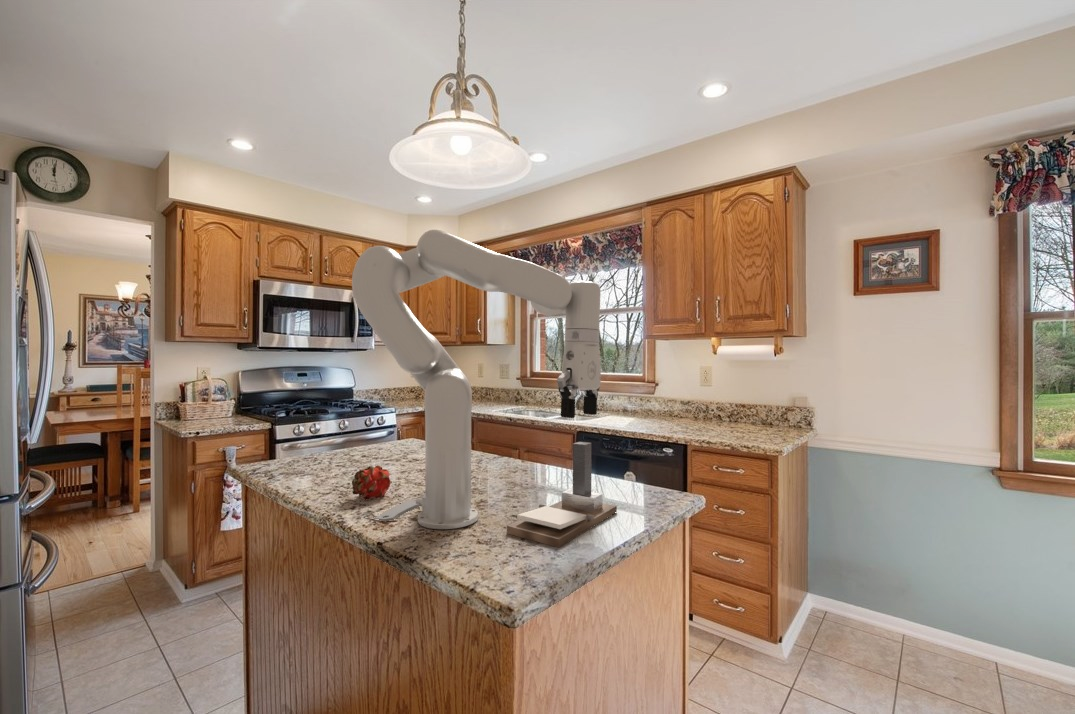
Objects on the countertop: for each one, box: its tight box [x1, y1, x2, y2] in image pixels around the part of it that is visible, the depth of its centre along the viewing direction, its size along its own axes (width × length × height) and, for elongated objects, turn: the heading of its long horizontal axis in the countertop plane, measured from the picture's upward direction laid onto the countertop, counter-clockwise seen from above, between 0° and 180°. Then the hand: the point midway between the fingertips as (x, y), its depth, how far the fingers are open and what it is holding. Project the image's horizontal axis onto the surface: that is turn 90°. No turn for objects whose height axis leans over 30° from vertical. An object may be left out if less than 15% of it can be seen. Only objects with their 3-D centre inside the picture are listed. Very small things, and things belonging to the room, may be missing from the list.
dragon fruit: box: [351, 465, 393, 501], centre depth 117 cm, size 8×8×12 cm
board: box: [506, 500, 618, 548], centre depth 99 cm, size 13×24×3 cm, turn 145°
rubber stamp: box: [561, 441, 604, 512], centre depth 105 cm, size 4×8×14 cm, turn 55°
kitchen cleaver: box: [374, 498, 422, 521], centre depth 111 cm, size 24×1×10 cm
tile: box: [516, 505, 586, 529], centre depth 95 cm, size 10×10×1 cm
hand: (579, 415), depth 105 cm, fingers open, 9 cm apart
